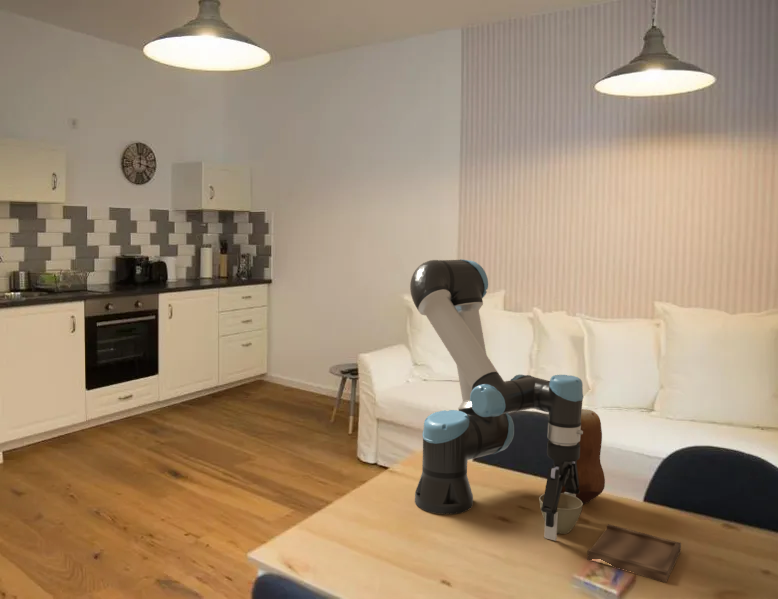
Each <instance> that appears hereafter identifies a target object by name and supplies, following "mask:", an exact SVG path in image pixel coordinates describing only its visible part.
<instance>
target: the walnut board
mask: <svg viewBox="0 0 778 599" xmlns="http://www.w3.org/2000/svg"><path fill="white" fill-rule="evenodd" d="M681 547H682V543H681V542H678V541H675V540H670V539H668V538H664V537H661V536H656V535H652V534H648V533H644V532H640V531H637V530H632V529H628V528H625V527H621V526H617V525H613V524H609V523H608V524H606V528H605V530H604V531H603V533H601V535H600V536H599V538H597V540H596V542H594V544H593V545H592V547H591V548H589V549H588V550H587V558H586V559H587V561H590V560H592V559H601V560H603V561H605V562H607V563H609V564H611V565H612V566H614V567H616V568H615V569H617V568H620V569H619V570H621V569H624V570H627V571H626V572H628V571H631V572H634V573H633V574H634V575H638V576H643V577H645V578H649V579H652V580H656V581H659V582H663V583H665V584H666V583H667V581H668V580H669V577H670V575H671V573H672V571H673V569H674V566H675V564H676V562H677V560H678V558H679V555H680V553H681ZM614 567H613V568H614ZM624 570H623V571H624ZM631 572H630V573H631Z"/></svg>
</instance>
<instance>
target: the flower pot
mask: <svg viewBox="0 0 778 599" xmlns="http://www.w3.org/2000/svg"><path fill="white" fill-rule="evenodd" d="M544 494H545V493H542V494H541V495H540V496H539V498H538V499H539V500H538V501H539V507H540V509H541V507H542V505H543V499H544ZM583 505H584V504H583V503H582V501H581V500H580V499H578V498H577V497H574V496H572V495H568V494H564V493H561V495H560V499H559V503H558V507H557V510H556V512H558V520H557V534H560V535H561V534H569V533H570V532H571V531H572V529H573V528H574V527H575V525H576V524H577V522H578V521H579V518H580V515H581V513H582V509H583ZM540 512H541V515H542V518H543V521H545V512H543V511H541V510H540Z"/></svg>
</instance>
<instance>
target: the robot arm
mask: <svg viewBox="0 0 778 599" xmlns="http://www.w3.org/2000/svg"><path fill="white" fill-rule="evenodd" d="M409 287H410V289H409V290H410V296H411V298H412V302H413V304H414V305H415V307H416V309H417V311H418V312H419V314H420V315H422V316H426V318H427V320H428V321H429V322H430V325H431V326H432V328H433V329H434V331H435V333H437V335H438V337H439V339H440V340H441V342H442V344H443V346H445V348H446V350H447V351H448V352H449V355H450V356H451V358H452V360H453V361H454V362H455V364H456V368H457V376H458V381H459V386H460V394H461V399H462V402H461V403H460V405H459V407H458V408H457V409H449V410H440V411H435V412H433V413H431V414H430V415H428V416H427V417H426V418H425V420H424V421H423V422H424V423H423V430H422V468H421V470H422V471H421V476H420V478H419V479H418V483H417V487H416V490H415V493H414V503H415V505H416V506H417V507H418V508H419V509H422V511H426V512H429V513H432V514H436V515H437V514H438V515H439V514H440V515H456V514H462V513H464V512H467V511H469V510H471V508H472V507H473V505H474V495H473V492H472V488H471V484H470V481H469V478H468V461H469V460H472V459H473V460H474V459H476V458H481V457H485V456H490V455H496V454H498V453H500V452H502V451H505V450H506V449H508V447H509V446H510V444H511V443H512V441H513V439H514V436H515V424H514V421H513V418H512V416H511V415H510V413H517V412H521V411H526V410H537V411H541V412H545V413H548V415H547V416H548V418H547V439H548V440H547V442H546V444H547V445H546V447H547V448H546V455H547V457H548V458H549V459H551V460H553V464H552V466H551V467H548V469H547V479H546V485H545V488H544V493H543V494H544V499H543V505H542V507H541V508H540V512H541V511H543V512H545V520H544V530H543V531H544V534H543V535H544V539H548V540H551V541H555V542H556V541H557V538H558V533H557V520H558V512H556V510H557V507H558V503H559V499H560V495H561V491H562V487H563V486H565V490H566V491H568V492H564V494H568V495H572V496H574V497H576V494H575V493H577V494H579V493H580V489H577V488H579V479H578V471H577V460H578V459H579V458H580V444H579V443H578V442H580V435H581V434H583V431H582V430H581V412H582V409H583V399H584V391H583V386H584V385H583V380H582V379H581V378H579V377H578V376H575V375H570V374H569V375H568V374H555V375H552V376H550V379H549V380H547V379H545V378H544V379H543V378H539V377H535V376H532V375H529V374H528V375H525V374H515V376H514V377H513V378H511V379H510V380H506V381H504V379H503V377H502V376H501V375H500V373H499V372H498V370H497V369H496V367H495V366H494V364H493V363H492V361H491V359H490V358H489V357H488V355H487V351H486V344H485V338H484V332H483V327H482V326H483V325H482V322H481V315H480V309H481V308H482V306H484V301H483V298H484V297H485V296H486V295H487V292H488V291H487V290H488V289H489V280H488V275H487V273H486V271H485V269H484V268H483V266H481V265H480V264H479V263H477V261H474V260H467V259H462V258H461V259H439V260H438V259H432V260H427V261H425V262H423V263H421V264H420V265H418V267H417V268H416V269H415V270H414V271H413V274H412V276H411V279H410V285H409Z"/></svg>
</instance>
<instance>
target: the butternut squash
mask: <svg viewBox="0 0 778 599" xmlns="http://www.w3.org/2000/svg"><path fill="white" fill-rule="evenodd" d="M581 430H582V431H583V434H581V435H580V442H578V443H579V444H580V458H579V459H578V460H577V471H578V479H579V488H577V489H580V493H579V494H577V493H575V494H576V497H577V498H578V499H580V500H581V501H582V503H583V505H584V504H587V503H589V502H591V501H593V500H594V499H596V498H597V497H599V495H601V494H602V492H603V491H604V490H605V485H606V478H605V477H606V476H605V472H604V469H603V466H602V464H601V452H602V450H601V449H602V442H603V430H602V423H601V419H600V416H599V414H597V413H596V412H595V411H594V410H592V409H588V408H587V409H586V408H585V409H584V408H582V412H581ZM564 492H568V491H566V490H565V486H563V487H562V491H561V493H564Z"/></svg>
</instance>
